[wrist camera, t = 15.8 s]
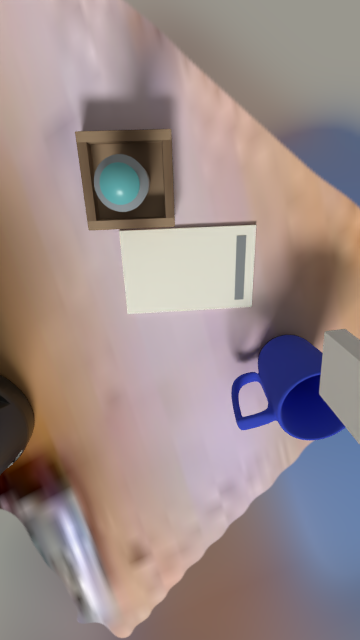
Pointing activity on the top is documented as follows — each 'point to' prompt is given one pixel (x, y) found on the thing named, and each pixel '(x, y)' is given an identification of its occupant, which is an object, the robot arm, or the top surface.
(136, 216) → the tray
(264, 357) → the mug
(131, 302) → the paper
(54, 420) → the top surface
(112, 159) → the marker
